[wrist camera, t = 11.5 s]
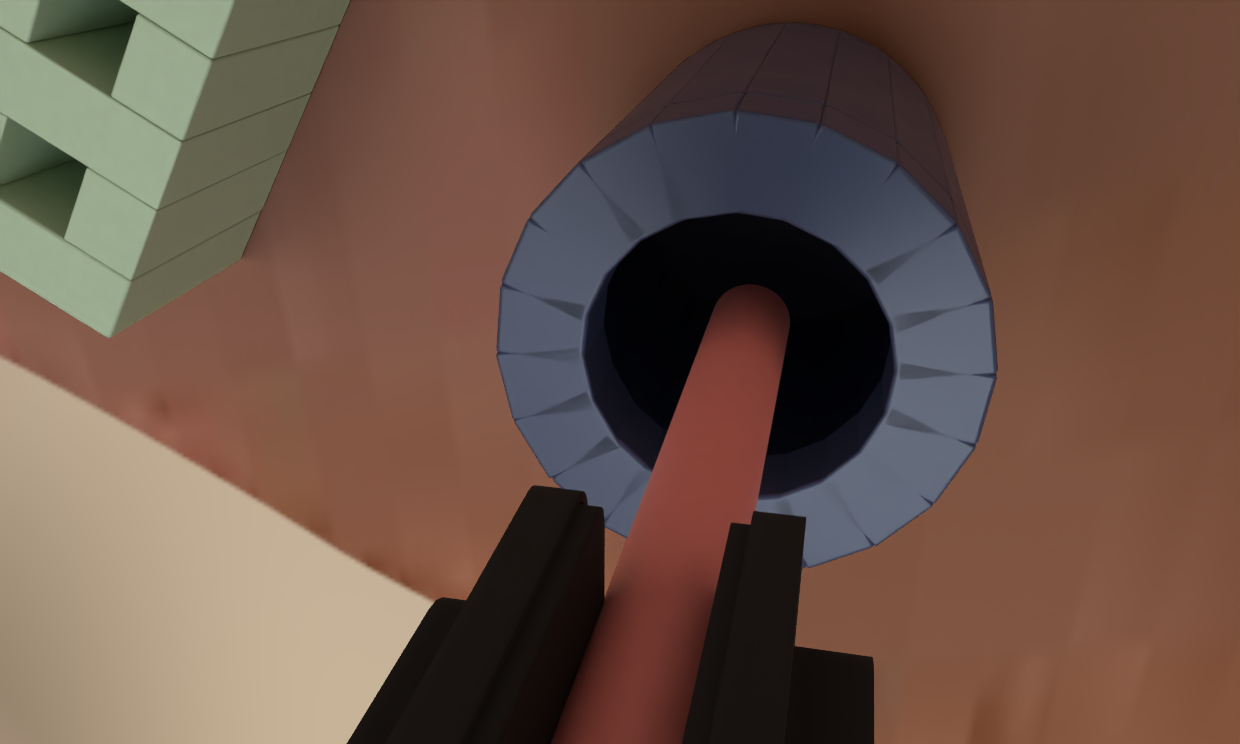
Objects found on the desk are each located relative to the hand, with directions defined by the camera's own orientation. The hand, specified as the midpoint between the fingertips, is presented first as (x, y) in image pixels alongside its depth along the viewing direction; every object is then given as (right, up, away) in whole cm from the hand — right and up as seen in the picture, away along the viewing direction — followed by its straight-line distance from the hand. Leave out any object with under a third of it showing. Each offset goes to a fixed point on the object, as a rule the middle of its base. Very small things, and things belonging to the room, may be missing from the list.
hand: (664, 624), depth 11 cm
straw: (+2, +4, +8) cm, 9 cm away
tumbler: (+4, +7, +15) cm, 17 cm away
